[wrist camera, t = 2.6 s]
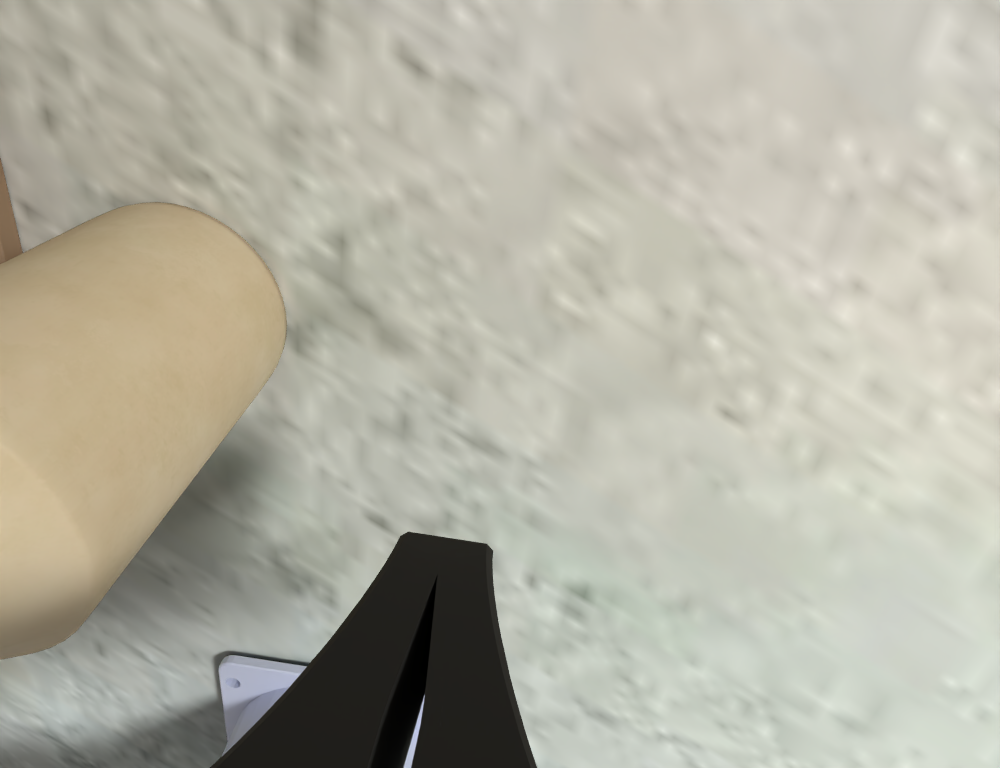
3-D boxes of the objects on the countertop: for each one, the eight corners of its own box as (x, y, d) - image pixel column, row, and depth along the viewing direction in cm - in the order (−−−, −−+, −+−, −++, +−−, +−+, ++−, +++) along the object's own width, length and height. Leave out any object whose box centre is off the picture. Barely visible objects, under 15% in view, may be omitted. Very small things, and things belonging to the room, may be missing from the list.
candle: (94, 381, 19) (-292, 705, 11) (58, 181, 17) (-503, 400, 8) (291, 413, 19) (63, 765, 11) (288, 218, 16) (-23, 480, 8)
